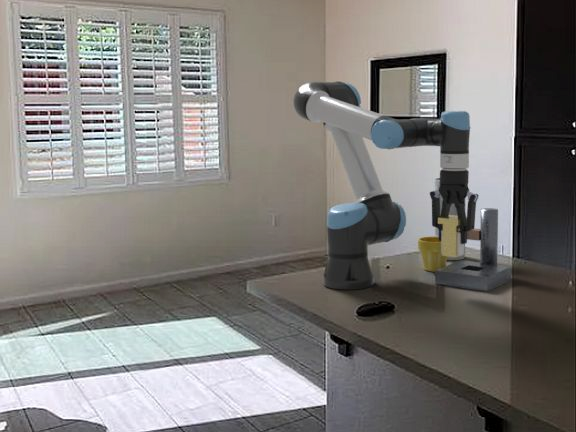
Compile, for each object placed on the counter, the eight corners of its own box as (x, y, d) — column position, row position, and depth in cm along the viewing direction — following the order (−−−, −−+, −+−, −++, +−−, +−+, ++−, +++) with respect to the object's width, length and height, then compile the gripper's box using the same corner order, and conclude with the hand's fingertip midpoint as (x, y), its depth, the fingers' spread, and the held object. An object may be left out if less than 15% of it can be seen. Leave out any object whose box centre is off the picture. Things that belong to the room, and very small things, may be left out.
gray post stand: (433, 283, 197) (433, 215, 194) (466, 269, 212) (466, 206, 210) (487, 291, 186) (487, 220, 183) (517, 276, 202) (518, 210, 199)
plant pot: (455, 267, 216) (455, 237, 214) (444, 274, 207) (444, 243, 206) (425, 264, 221) (424, 235, 220) (413, 271, 213) (412, 240, 211)
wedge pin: (437, 255, 185) (437, 217, 183) (447, 251, 189) (448, 214, 187) (457, 258, 181) (458, 219, 179) (467, 254, 185) (468, 216, 184)
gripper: (419, 168, 184) (418, 252, 188) (477, 172, 173) (475, 260, 177) (432, 166, 189) (431, 247, 193) (490, 169, 178) (487, 255, 182)
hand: (452, 253), depth 185 cm, fingers closed on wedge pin, 4 cm apart
